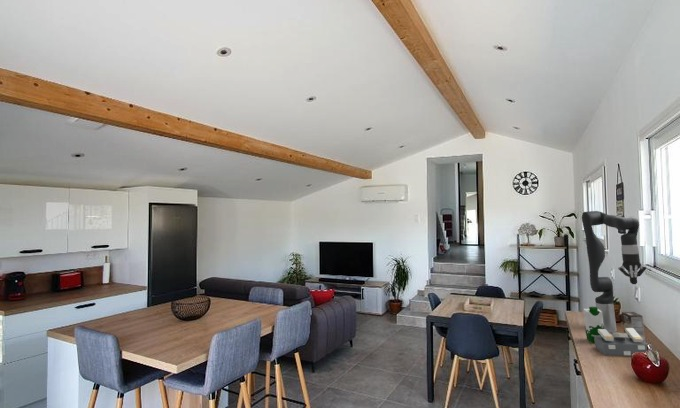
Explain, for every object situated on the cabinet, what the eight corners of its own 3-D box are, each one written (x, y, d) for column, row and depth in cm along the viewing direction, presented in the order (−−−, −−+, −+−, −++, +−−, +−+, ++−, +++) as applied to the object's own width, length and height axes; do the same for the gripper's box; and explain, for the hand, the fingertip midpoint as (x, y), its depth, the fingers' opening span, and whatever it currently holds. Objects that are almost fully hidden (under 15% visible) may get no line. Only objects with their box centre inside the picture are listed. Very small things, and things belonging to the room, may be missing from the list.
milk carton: (589, 343, 212) (585, 308, 213) (584, 338, 220) (581, 304, 221) (607, 344, 209) (603, 308, 210) (602, 339, 217) (598, 304, 218)
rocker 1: (597, 332, 204) (597, 328, 204) (605, 332, 203) (605, 328, 203) (605, 340, 194) (605, 337, 194) (613, 340, 194) (613, 337, 193)
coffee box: (624, 340, 214) (620, 311, 215) (636, 339, 212) (633, 311, 213) (633, 345, 205) (629, 315, 206) (646, 345, 203) (643, 315, 204)
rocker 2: (612, 336, 202) (611, 332, 202) (619, 336, 201) (619, 332, 201) (619, 337, 193) (619, 333, 193) (628, 337, 192) (627, 333, 192)
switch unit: (595, 347, 205) (593, 333, 206) (637, 347, 200) (635, 334, 201) (605, 355, 193) (603, 341, 193) (650, 356, 187) (648, 341, 188)
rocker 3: (625, 330, 201) (625, 327, 200) (632, 330, 200) (633, 327, 199) (634, 342, 191) (634, 339, 191) (642, 342, 190) (642, 339, 190)
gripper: (640, 251, 208) (644, 282, 207) (613, 252, 211) (617, 283, 210) (647, 252, 200) (651, 285, 199) (619, 254, 204) (623, 285, 203)
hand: (633, 284), depth 205 cm, fingers closed
